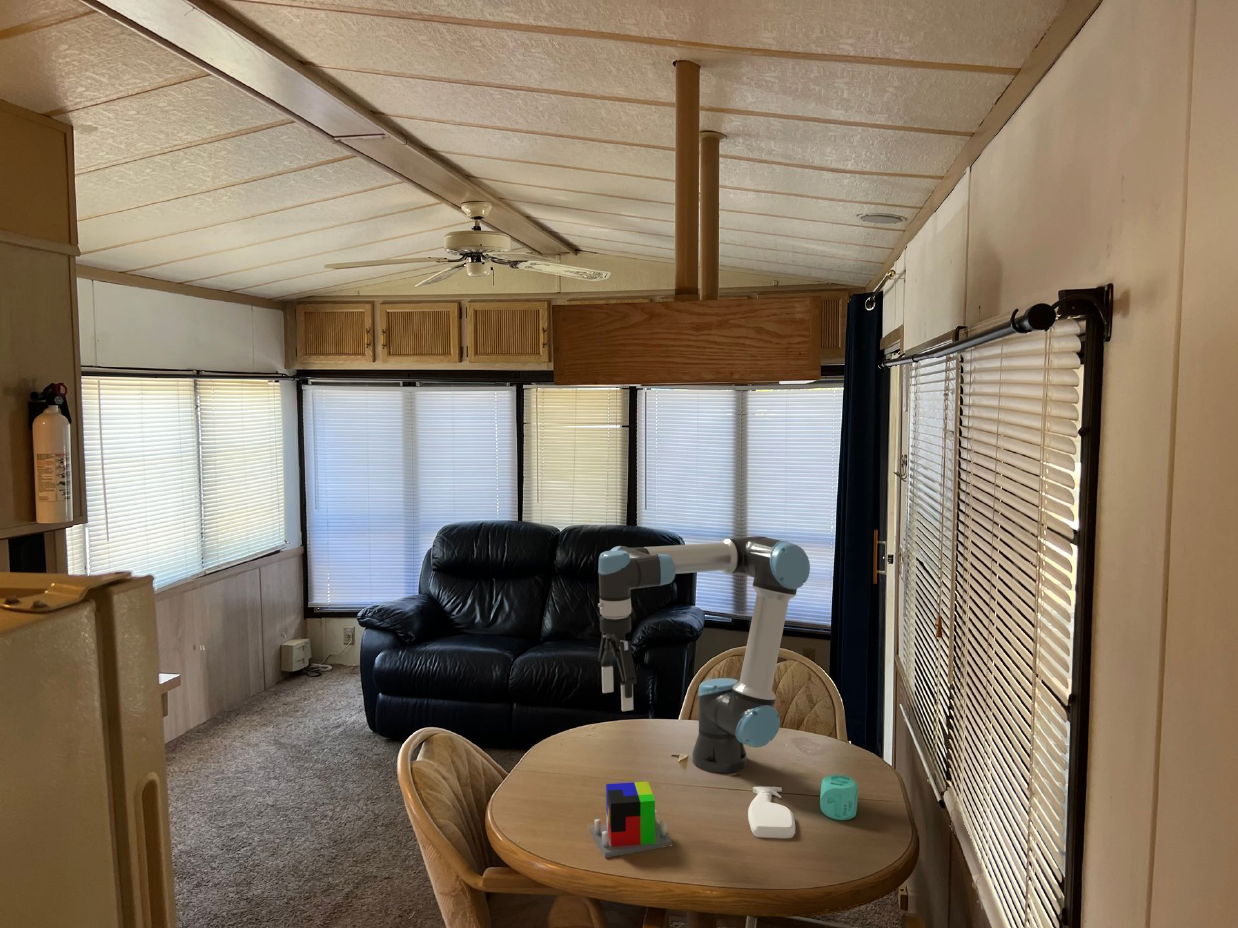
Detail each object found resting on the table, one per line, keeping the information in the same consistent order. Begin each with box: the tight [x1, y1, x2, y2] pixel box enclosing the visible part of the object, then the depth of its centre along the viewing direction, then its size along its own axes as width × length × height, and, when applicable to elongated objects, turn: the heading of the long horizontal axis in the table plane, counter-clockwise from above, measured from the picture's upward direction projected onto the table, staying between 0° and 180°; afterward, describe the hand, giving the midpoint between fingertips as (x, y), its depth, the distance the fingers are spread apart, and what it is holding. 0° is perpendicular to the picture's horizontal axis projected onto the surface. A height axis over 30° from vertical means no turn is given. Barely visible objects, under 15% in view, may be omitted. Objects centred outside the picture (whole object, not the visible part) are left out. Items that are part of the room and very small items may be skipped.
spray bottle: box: [747, 786, 796, 839], centre depth 212 cm, size 3×11×24 cm
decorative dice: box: [819, 773, 859, 821], centre depth 212 cm, size 8×8×8 cm
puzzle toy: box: [605, 781, 656, 847], centre depth 199 cm, size 10×10×10 cm
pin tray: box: [589, 809, 673, 859], centre depth 200 cm, size 16×12×4 cm
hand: (617, 700), depth 211 cm, fingers open, 13 cm apart
